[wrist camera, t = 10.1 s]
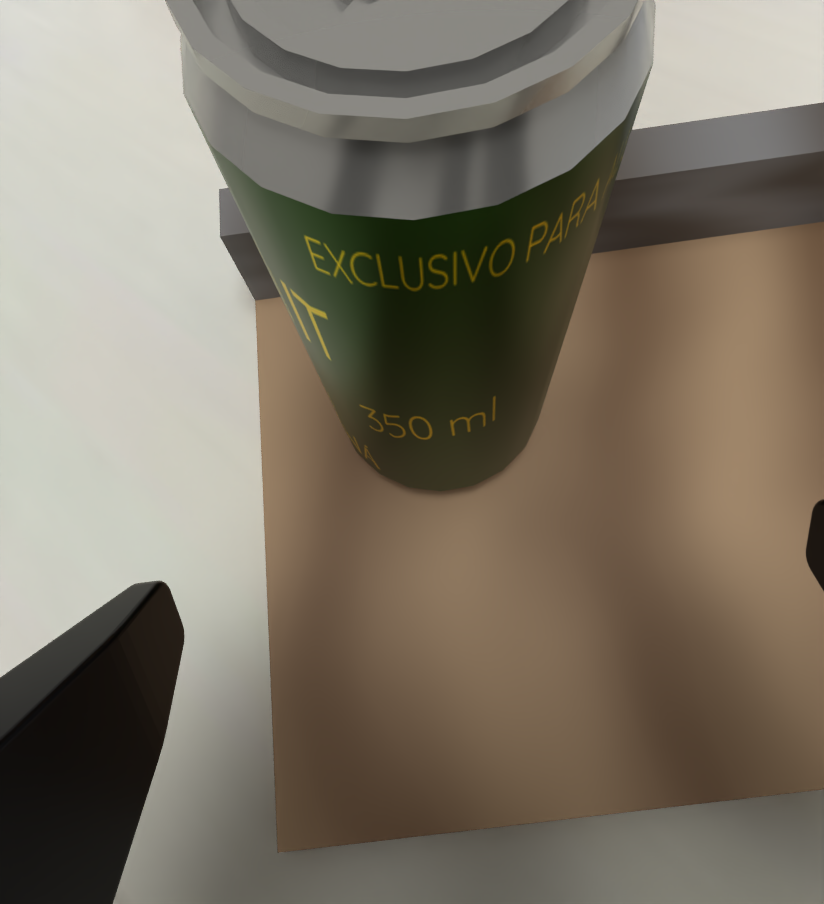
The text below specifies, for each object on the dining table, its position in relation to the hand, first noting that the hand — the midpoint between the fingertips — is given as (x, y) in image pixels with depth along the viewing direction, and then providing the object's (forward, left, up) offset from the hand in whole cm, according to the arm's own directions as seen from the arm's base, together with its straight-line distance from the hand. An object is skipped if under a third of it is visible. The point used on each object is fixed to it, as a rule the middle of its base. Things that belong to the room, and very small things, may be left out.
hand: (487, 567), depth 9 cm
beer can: (+3, -5, -7) cm, 9 cm away
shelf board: (-3, -5, -8) cm, 10 cm away
